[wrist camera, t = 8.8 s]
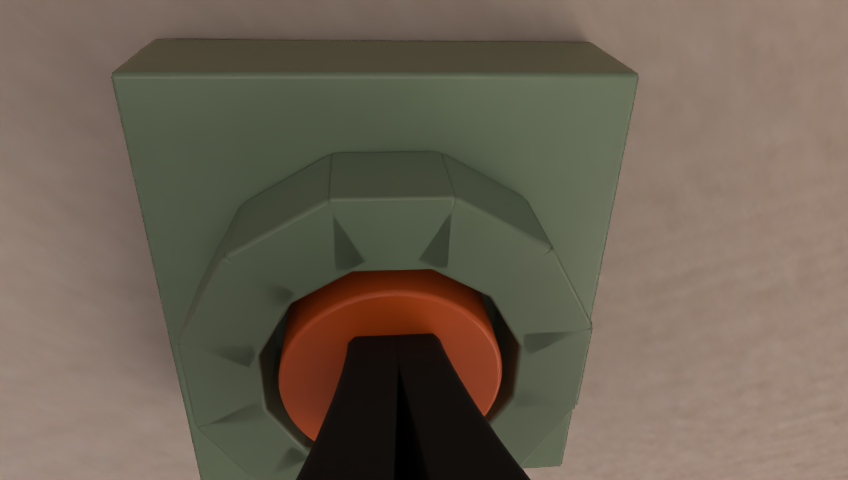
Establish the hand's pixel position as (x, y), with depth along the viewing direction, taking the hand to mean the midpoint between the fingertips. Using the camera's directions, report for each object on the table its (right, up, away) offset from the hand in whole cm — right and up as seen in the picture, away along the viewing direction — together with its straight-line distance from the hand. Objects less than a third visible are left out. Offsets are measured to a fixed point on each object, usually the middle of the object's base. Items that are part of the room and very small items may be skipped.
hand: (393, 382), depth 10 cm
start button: (0, +1, +1) cm, 2 cm away
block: (0, +2, +4) cm, 4 cm away
